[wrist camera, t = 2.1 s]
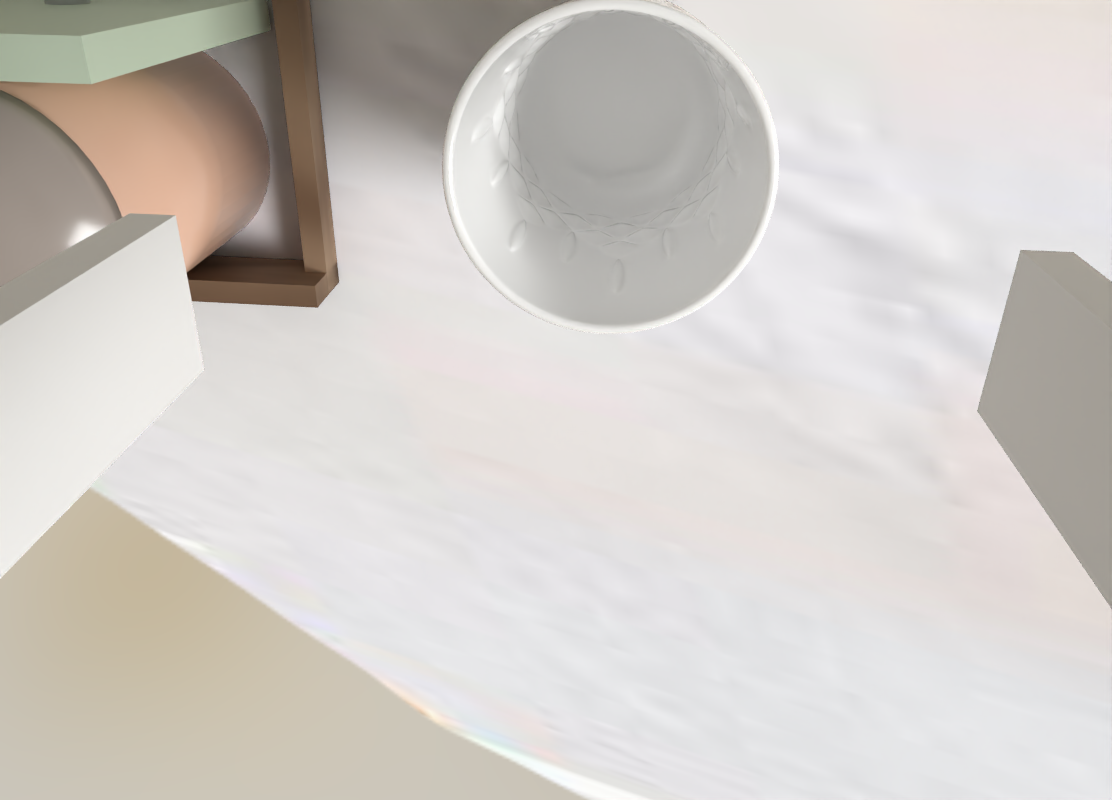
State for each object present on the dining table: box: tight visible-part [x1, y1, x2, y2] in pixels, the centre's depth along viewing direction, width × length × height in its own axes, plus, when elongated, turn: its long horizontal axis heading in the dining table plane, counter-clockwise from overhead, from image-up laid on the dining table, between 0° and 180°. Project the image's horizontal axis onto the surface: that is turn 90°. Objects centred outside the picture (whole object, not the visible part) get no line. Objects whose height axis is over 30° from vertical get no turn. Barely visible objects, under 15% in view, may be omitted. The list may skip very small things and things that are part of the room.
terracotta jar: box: [0, 51, 270, 287], centre depth 27 cm, size 8×8×11 cm
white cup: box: [442, 0, 779, 334], centre depth 25 cm, size 8×8×10 cm
